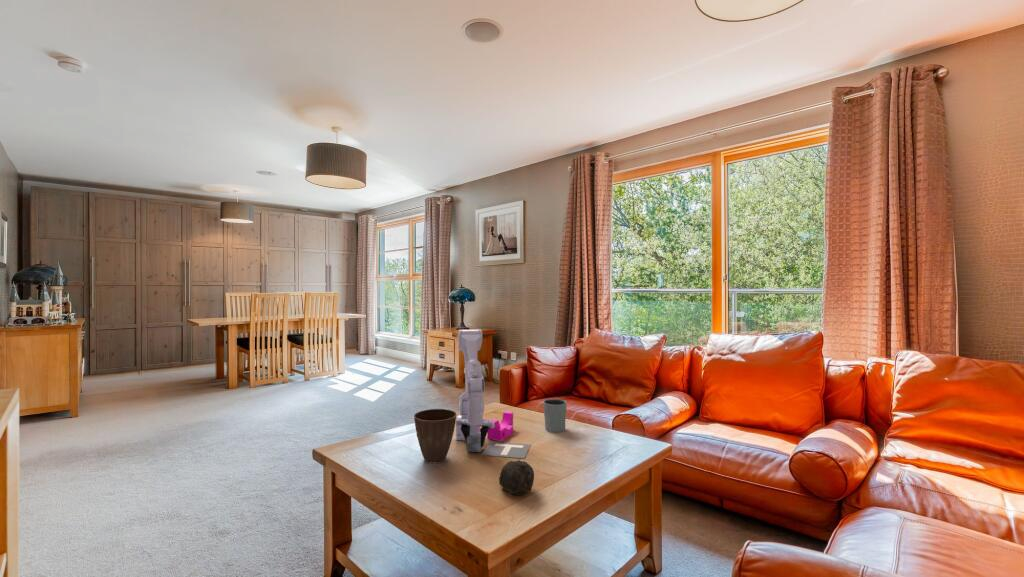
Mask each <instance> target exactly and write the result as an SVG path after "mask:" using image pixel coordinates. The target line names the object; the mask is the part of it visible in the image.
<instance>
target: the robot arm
mask: <svg viewBox="0 0 1024 577" xmlns="http://www.w3.org/2000/svg"><path fill="white" fill-rule="evenodd" d="M457 342H458V351H460V352H462V353H463V356H464V378H465V379H464V380H465V384H464V385H465V391H464V392H463V393H461V395H460V396H459V399H458V401H459V402H458V411H459V412H458V413H459V415H458V416H456V422H455V428H456V429H455V434H456V435H455V440H456V441H465V445H466V447H467V437H468V436H469V435H470V434H471V433H475V434H481V447H483V448H484V446H485V442H486V437H487V432H488V430H489V428H490V427H491V428H494V426H495V422H494V421H488V420H489V419H484V417H483V416H484V412H485V404H484V403H485V402H484V392H485V388H486V387H485V384H486V383H485V378H484V375H483V374H482V363H481V361H479V360H478V351H480V350H481V347H482V345H483V344H482V343H483V330H482V329H481V328H479V329H459V330H458V333H457Z"/></svg>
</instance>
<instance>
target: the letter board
mask: <svg viewBox="0 0 1024 577" xmlns="http://www.w3.org/2000/svg"><path fill="white" fill-rule="evenodd" d="M531 446H532V444H530V443H529V444H528V443H516V442H513V443H512V442H502V441H489V443H488V445H487V446H486V447H485V449H484V450H483V451H482V453H481V456H486V457H487V456H488V457H498V458H499V457H500V458H511V459H523V460H525V459H526V456H527V454H528V452H529V449H530V447H531Z"/></svg>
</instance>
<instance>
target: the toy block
mask: <svg viewBox="0 0 1024 577" xmlns="http://www.w3.org/2000/svg"><path fill="white" fill-rule="evenodd" d="M501 418H502V419H501V421H500V420H499V419H493V418H490V419H487V420H488V421H494V422H495V426H494V428H491V427H490V428H489V430H488V432H487V435H486V437H487V439H488V440H494V441H496V442H502V441H503V440H505V439H506V438H508V437H510V436H512V435H513V434H514V412H513V411H506V410H505V411H504V412H503V413H502V417H501Z"/></svg>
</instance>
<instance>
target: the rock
mask: <svg viewBox="0 0 1024 577" xmlns="http://www.w3.org/2000/svg"><path fill="white" fill-rule="evenodd" d="M534 482H535V471H534V468H533V467H532V466H531V465H530V464H529V463H528V462H526V461H525V460H524V461H522V460H520V459H518V460H514V461H513V460H510V461H507V462H506V463H505V464H504V465H503V467H502V469H501V470H500V474H499V477H498V483H499V485H500V486H501V487H502V488H503V490H505V491H507V492H508V493H509V494H511V495H515V496H521V495H523V494H525V493H527V492H531V491H532V488H533V486H534Z"/></svg>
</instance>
